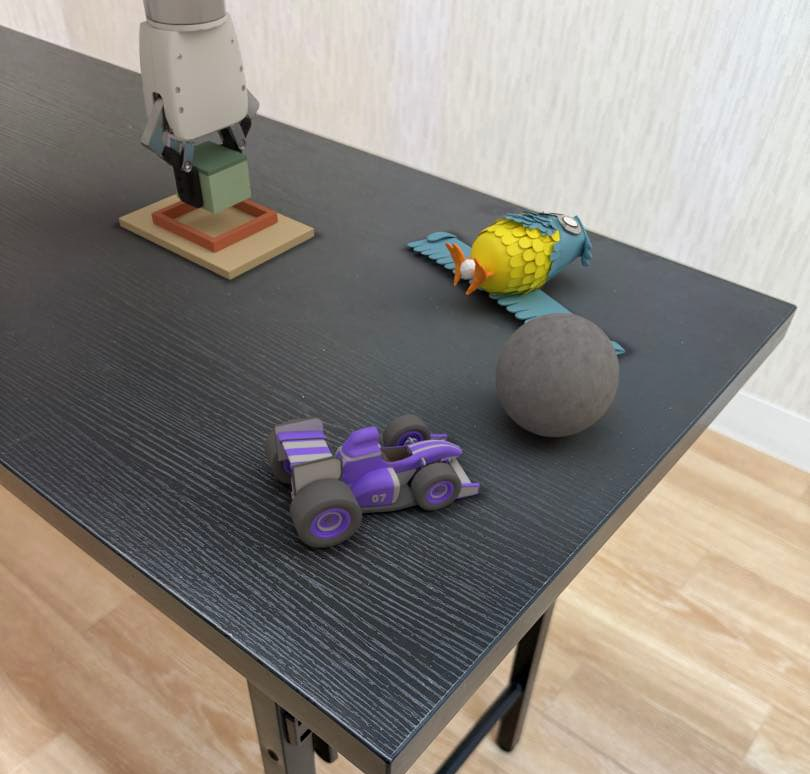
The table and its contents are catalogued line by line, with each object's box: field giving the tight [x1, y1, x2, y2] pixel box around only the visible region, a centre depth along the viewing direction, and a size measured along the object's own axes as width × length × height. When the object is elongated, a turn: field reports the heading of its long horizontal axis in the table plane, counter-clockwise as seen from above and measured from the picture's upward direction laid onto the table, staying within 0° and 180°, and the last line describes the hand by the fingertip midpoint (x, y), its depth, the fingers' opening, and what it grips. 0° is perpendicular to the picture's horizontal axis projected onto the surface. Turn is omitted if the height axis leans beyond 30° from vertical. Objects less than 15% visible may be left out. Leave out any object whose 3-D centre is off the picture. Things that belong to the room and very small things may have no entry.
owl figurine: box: [406, 210, 626, 356], centre depth 81 cm, size 28×9×15 cm
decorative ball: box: [494, 313, 620, 438], centre depth 66 cm, size 10×10×10 cm
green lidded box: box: [171, 140, 252, 214], centre depth 87 cm, size 6×6×4 cm
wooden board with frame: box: [118, 193, 315, 281], centre depth 91 cm, size 18×13×2 cm
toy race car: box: [264, 413, 481, 549], centre depth 61 cm, size 10×15×6 cm, turn 111°
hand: (213, 192), depth 88 cm, fingers closed on green lidded box, 5 cm apart
